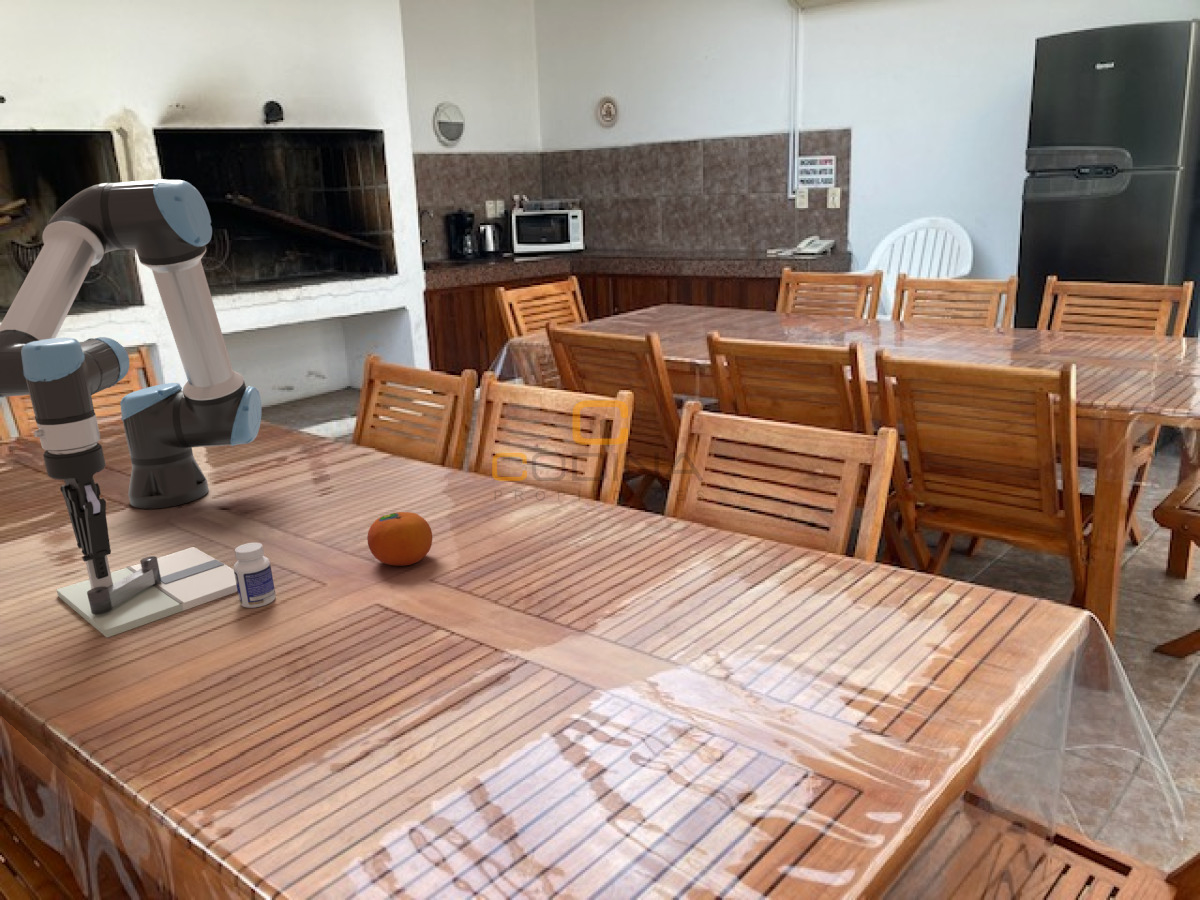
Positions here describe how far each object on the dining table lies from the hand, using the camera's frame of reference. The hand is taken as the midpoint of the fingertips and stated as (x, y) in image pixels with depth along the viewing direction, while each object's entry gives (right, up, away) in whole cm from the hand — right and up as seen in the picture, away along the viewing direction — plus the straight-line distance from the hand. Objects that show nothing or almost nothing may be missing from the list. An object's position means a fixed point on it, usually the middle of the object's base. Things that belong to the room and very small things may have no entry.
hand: (104, 595), depth 142 cm
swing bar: (+3, -1, +2) cm, 3 cm away
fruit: (+42, +3, +14) cm, 45 cm away
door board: (+4, 0, +7) cm, 8 cm away
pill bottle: (+23, -1, +2) cm, 23 cm away
